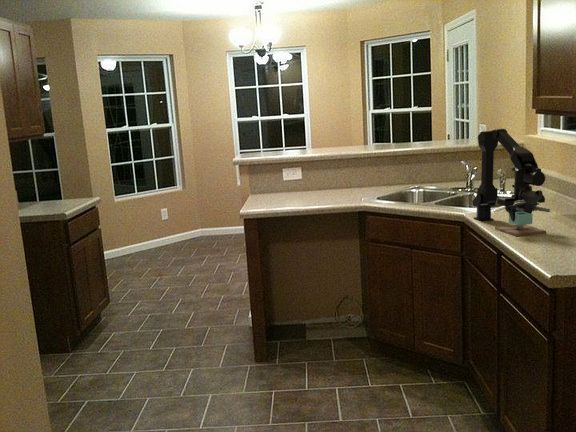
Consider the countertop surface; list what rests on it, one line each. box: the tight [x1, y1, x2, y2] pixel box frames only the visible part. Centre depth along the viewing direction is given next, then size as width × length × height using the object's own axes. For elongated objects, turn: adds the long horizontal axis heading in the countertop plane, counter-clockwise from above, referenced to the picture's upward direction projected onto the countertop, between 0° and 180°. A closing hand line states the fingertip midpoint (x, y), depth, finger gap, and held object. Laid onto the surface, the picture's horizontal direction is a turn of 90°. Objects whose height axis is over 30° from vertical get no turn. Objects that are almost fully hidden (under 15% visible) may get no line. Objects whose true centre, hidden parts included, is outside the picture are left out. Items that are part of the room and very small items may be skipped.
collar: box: [508, 212, 534, 225], centre depth 241 cm, size 6×6×4 cm
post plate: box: [494, 224, 547, 237], centre depth 241 cm, size 14×14×6 cm
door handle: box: [504, 202, 551, 213], centre depth 283 cm, size 3×20×16 cm
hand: (520, 220), depth 241 cm, fingers closed on collar, 6 cm apart
